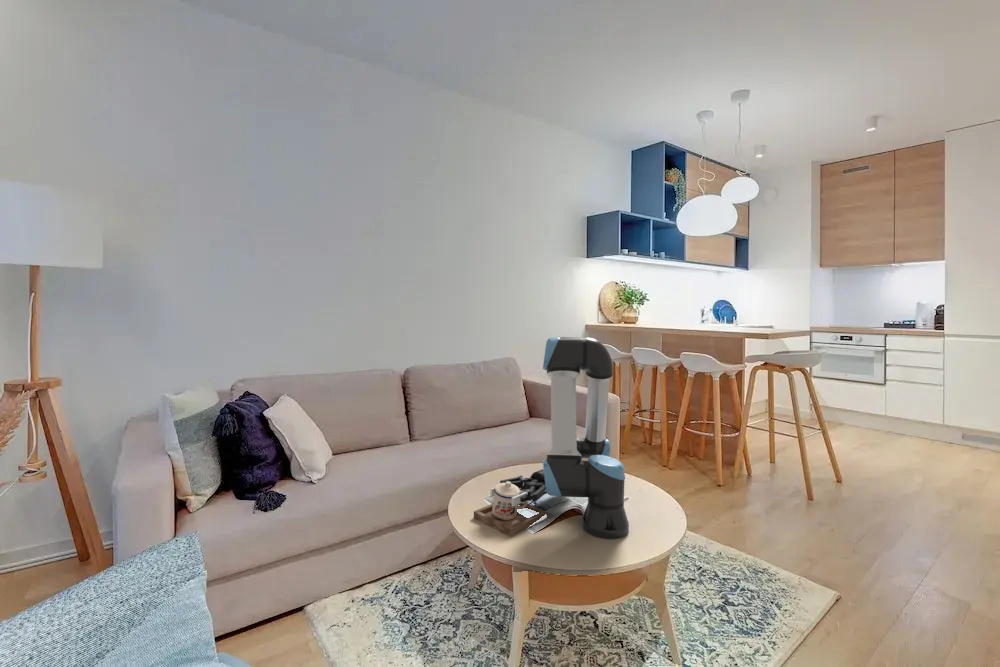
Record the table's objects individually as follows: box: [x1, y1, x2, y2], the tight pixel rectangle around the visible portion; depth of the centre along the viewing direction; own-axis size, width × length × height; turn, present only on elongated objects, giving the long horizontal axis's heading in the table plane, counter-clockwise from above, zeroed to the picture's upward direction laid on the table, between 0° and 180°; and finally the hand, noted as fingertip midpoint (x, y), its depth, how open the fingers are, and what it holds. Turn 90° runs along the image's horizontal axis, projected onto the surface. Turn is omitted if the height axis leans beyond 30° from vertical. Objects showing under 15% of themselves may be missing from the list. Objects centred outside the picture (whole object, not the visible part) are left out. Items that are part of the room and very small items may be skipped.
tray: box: [473, 501, 548, 537], centre depth 162 cm, size 18×18×2 cm
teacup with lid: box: [492, 481, 529, 520], centre depth 162 cm, size 12×9×12 cm
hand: (501, 497), depth 158 cm, fingers open, 9 cm apart
